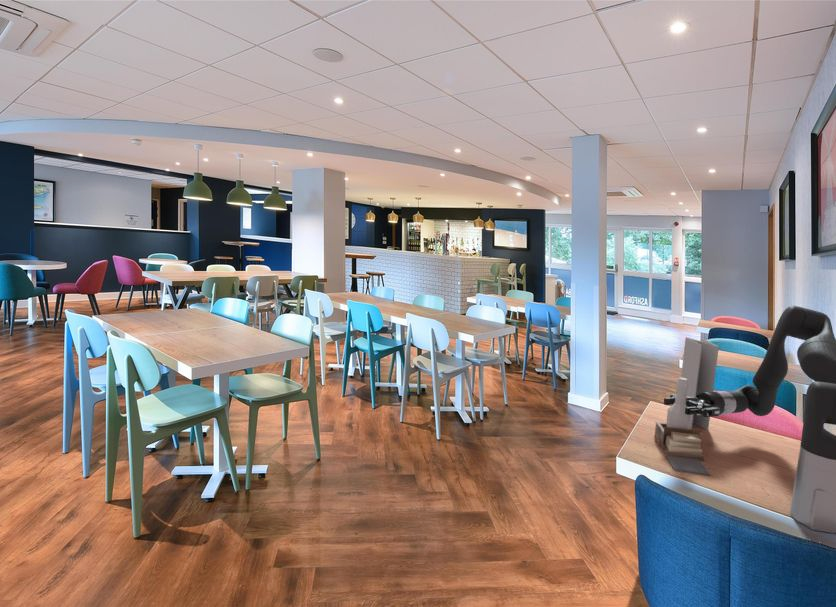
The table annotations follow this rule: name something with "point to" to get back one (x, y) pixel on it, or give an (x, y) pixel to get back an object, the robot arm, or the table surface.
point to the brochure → (699, 372)
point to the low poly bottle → (679, 407)
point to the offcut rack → (679, 441)
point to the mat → (687, 465)
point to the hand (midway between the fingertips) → (675, 406)
